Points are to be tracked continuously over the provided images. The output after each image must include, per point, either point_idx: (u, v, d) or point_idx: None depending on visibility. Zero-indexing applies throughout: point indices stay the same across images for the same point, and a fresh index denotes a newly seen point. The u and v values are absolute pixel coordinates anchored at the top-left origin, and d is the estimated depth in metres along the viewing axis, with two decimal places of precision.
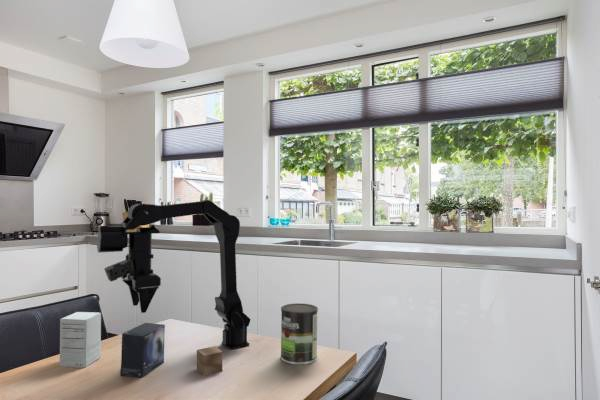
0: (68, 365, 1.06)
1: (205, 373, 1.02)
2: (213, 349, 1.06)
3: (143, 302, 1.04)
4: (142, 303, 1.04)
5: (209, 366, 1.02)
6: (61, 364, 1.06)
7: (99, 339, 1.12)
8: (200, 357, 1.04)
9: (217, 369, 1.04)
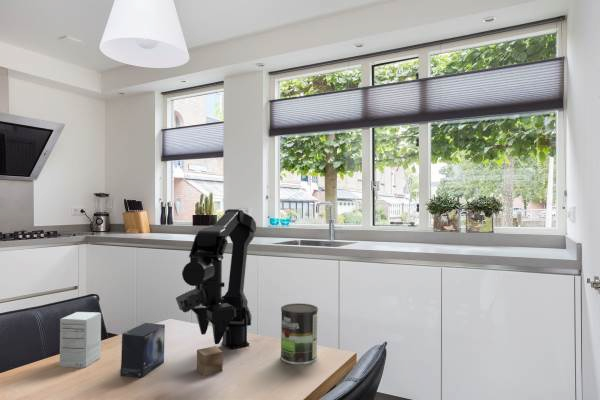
0: (68, 365, 1.06)
1: (205, 373, 1.02)
2: (213, 349, 1.06)
3: (217, 333, 1.01)
4: (216, 334, 1.01)
5: (209, 366, 1.02)
6: (61, 364, 1.06)
7: (99, 339, 1.12)
8: (200, 357, 1.04)
9: (217, 369, 1.04)
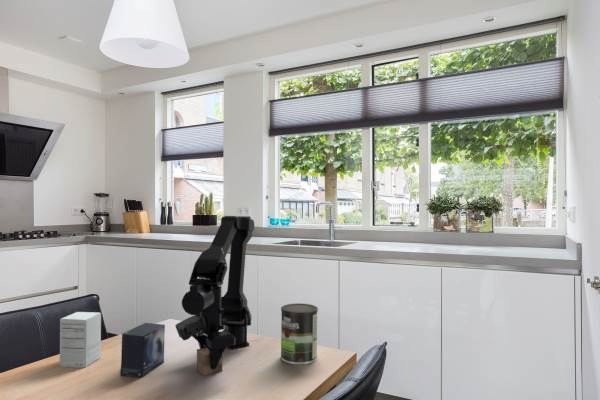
0: (68, 365, 1.06)
1: (205, 373, 1.02)
2: None
3: (214, 359, 1.02)
4: (213, 359, 1.02)
5: (209, 365, 1.02)
6: (61, 364, 1.06)
7: (99, 339, 1.12)
8: (200, 357, 1.04)
9: (217, 368, 1.04)
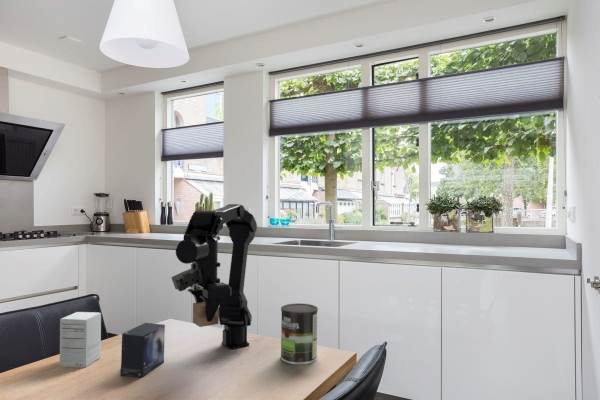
0: (68, 365, 1.06)
1: (201, 324, 1.02)
2: None
3: (210, 311, 1.02)
4: (209, 311, 1.02)
5: (205, 318, 1.03)
6: (61, 364, 1.06)
7: (99, 339, 1.12)
8: (196, 310, 1.04)
9: (213, 321, 1.04)
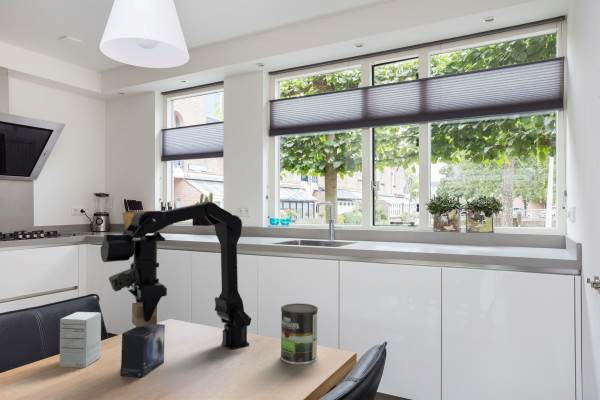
0: (68, 365, 1.06)
1: (138, 325, 1.02)
2: None
3: (147, 311, 1.03)
4: (146, 311, 1.03)
5: (142, 318, 1.03)
6: (61, 364, 1.06)
7: (99, 339, 1.12)
8: (134, 310, 1.04)
9: (151, 321, 1.04)
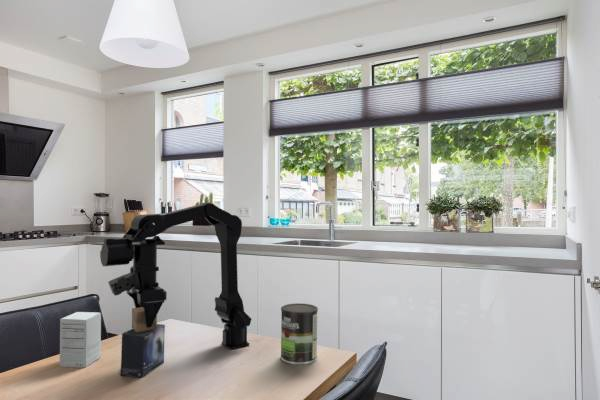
0: (68, 365, 1.06)
1: (138, 330, 1.03)
2: None
3: (148, 317, 1.01)
4: (147, 317, 1.01)
5: (142, 323, 1.03)
6: (61, 364, 1.06)
7: (99, 339, 1.12)
8: (134, 315, 1.04)
9: (151, 326, 1.04)
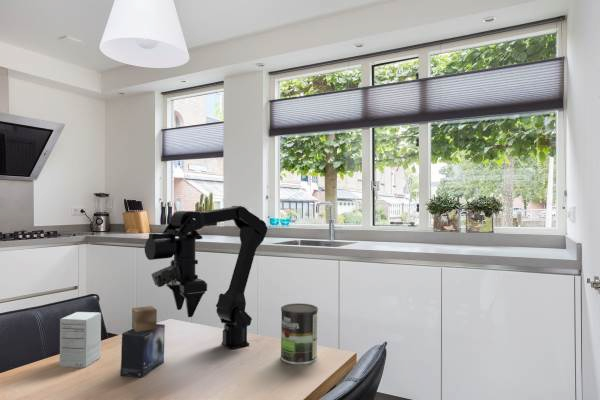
0: (68, 365, 1.06)
1: (137, 330, 1.03)
2: (148, 307, 1.07)
3: (190, 307, 1.07)
4: (189, 307, 1.07)
5: (141, 323, 1.03)
6: (61, 364, 1.06)
7: (99, 339, 1.12)
8: (134, 315, 1.04)
9: (151, 326, 1.04)
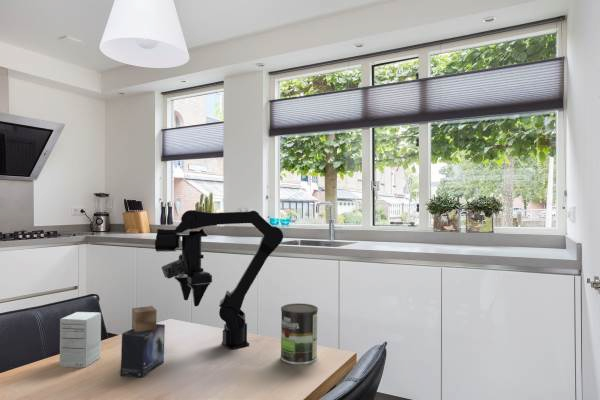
0: (68, 365, 1.06)
1: (137, 330, 1.03)
2: (148, 308, 1.07)
3: (196, 297, 1.18)
4: (195, 297, 1.18)
5: (141, 323, 1.03)
6: (61, 364, 1.06)
7: (99, 339, 1.12)
8: (134, 315, 1.04)
9: (151, 327, 1.04)
